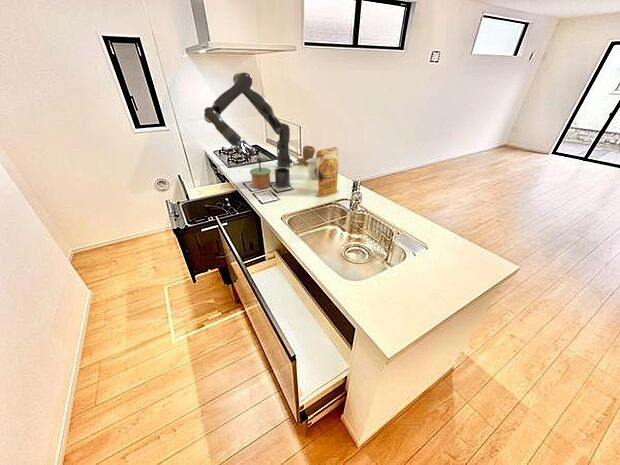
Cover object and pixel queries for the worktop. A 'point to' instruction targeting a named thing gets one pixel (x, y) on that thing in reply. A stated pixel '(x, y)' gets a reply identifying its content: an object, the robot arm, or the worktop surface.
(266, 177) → the clay pot
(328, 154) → the pancake mix bag
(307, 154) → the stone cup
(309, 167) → the pitcher
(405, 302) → the worktop surface
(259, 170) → the lid
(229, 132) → the robot arm
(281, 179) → the cup
